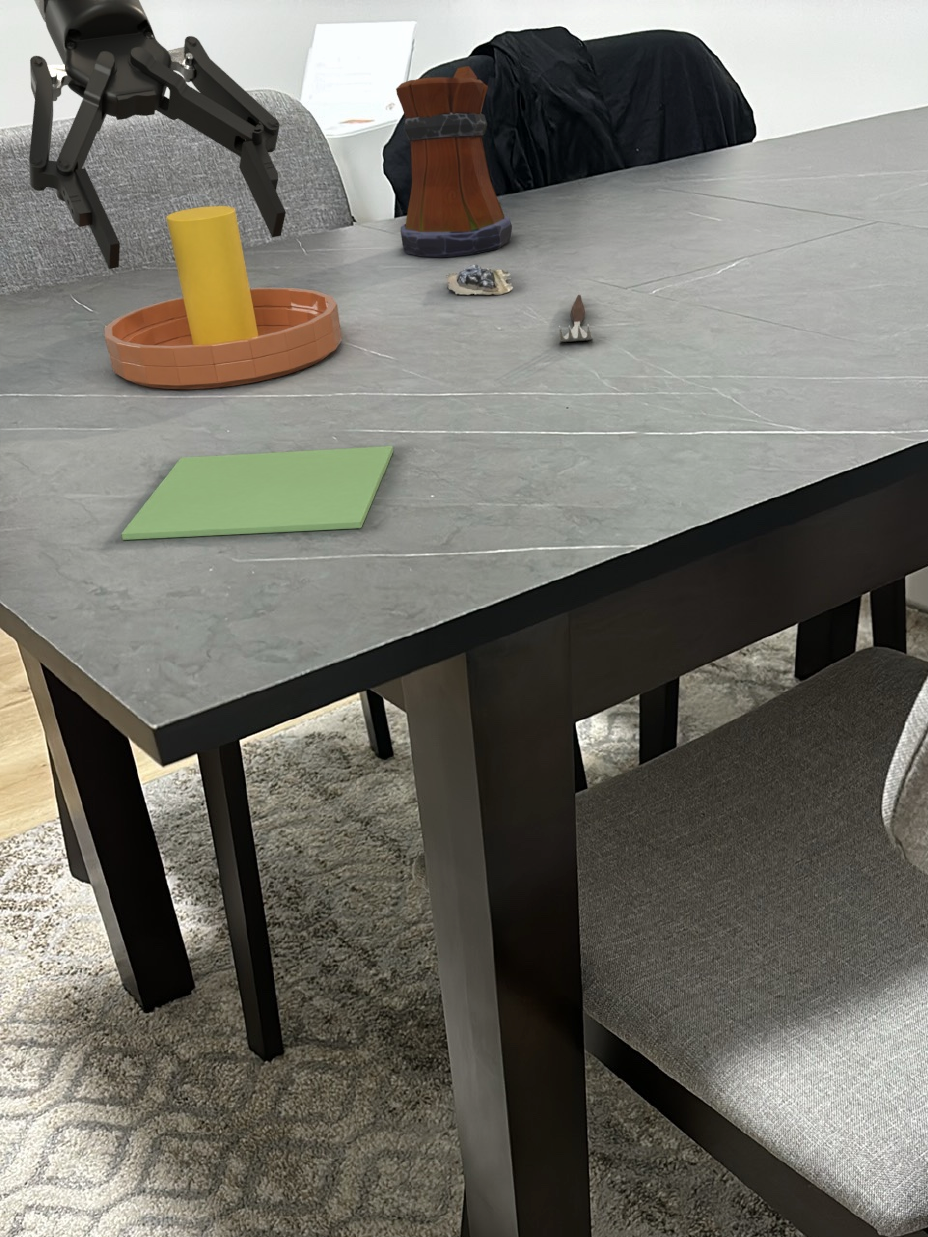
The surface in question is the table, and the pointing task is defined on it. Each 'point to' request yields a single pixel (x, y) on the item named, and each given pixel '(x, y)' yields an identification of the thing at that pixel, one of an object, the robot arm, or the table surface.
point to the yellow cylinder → (212, 274)
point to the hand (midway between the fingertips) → (199, 240)
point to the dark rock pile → (479, 281)
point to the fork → (576, 324)
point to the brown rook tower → (449, 169)
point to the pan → (166, 358)
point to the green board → (263, 493)
